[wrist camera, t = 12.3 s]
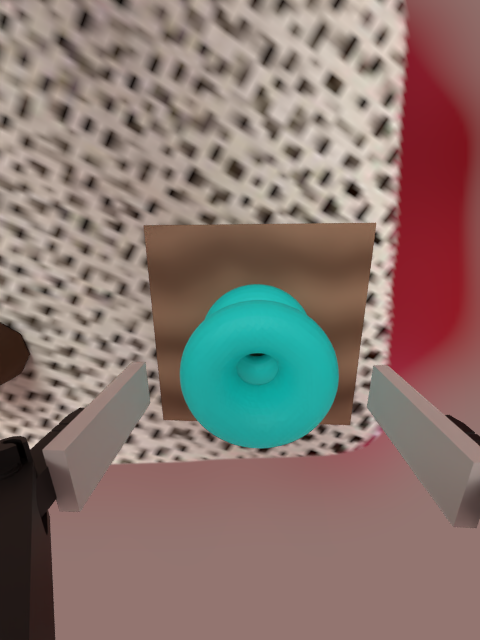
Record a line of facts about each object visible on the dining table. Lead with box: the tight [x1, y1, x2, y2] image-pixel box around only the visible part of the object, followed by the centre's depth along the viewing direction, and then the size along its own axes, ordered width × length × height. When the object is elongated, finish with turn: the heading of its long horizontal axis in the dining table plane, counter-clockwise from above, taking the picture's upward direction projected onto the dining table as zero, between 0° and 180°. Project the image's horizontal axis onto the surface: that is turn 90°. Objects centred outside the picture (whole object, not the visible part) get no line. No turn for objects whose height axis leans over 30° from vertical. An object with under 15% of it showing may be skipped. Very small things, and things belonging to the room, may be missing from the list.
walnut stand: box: [144, 223, 376, 425], centre depth 27 cm, size 20×20×5 cm
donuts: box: [180, 284, 339, 448], centre depth 19 cm, size 10×10×10 cm
